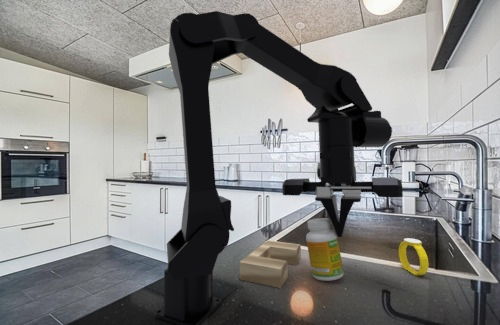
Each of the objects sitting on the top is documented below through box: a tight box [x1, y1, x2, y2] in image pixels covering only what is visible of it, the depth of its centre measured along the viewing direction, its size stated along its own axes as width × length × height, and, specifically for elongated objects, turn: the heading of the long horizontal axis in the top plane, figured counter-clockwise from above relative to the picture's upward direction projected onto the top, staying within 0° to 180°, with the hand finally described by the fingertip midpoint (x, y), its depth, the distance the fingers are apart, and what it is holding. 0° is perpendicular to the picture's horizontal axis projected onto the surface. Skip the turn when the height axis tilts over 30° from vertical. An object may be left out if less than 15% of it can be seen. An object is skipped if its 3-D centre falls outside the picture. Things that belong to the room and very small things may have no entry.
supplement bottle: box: [305, 217, 344, 282], centre depth 43 cm, size 5×5×10 cm
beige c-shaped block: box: [239, 240, 302, 289], centre depth 47 cm, size 14×8×3 cm, turn 155°
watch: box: [398, 237, 430, 276], centre depth 44 cm, size 6×3×6 cm, turn 3°
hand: (339, 236), depth 42 cm, fingers closed
